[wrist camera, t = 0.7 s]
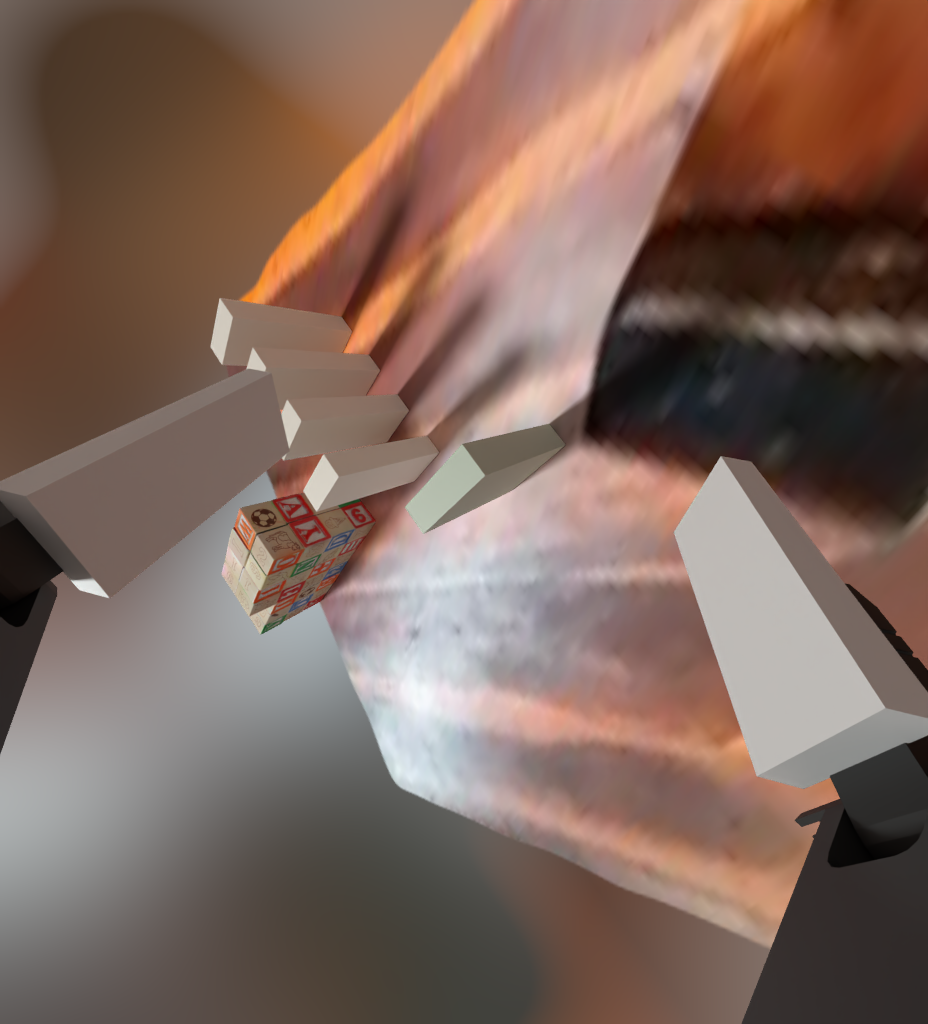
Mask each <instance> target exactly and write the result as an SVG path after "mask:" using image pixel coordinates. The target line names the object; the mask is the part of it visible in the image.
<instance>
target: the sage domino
mask: <svg viewBox="0 0 928 1024" xmlns="http://www.w3.org/2000/svg"><path fill="white" fill-rule="evenodd" d="M564 446H565V443H564V442H563V441H562V440H561V438H560V437H559V436H558V435H557V433H556V432H555V431H554V429H553V428H552V427H551V426H550V424H546V425H542V426H537V427H533V428H529V429H525V430H520V431H516V432H512V433H508V434H503V435H499V436H495V437H490V438H486V439H482V440H478V441H473V442H469V443H465V444H462V445H461V446H460V447H459V448H458V449H457V450H456V451H455V453H454V454H453V455H452V456H451V457H450V458H449V459H448V460H447V461H446V462H445V464H444V465H443V466H442V467H441V468H440V469H439V470H438V471H437V472H436V473H435V475H434V476H433V477H432V478H431V479H430V480H429V481H428V482H427V483H426V484H425V486H424V487H423V488H422V489H421V490H420V491H419V492H418V493H417V494H416V495H415V497H414V498H413V499H412V500H411V501H410V502H409V503H408V504H407V505H406V506H405V508H406V510H407V511H408V512H409V514H410V515H411V517H412V518H413V520H414V521H415V523H416V524H417V526H418V527H419V529H420V530H421V531H422V533H423V534H424V533H427V532H429V531H431V530H433V529H435V528H437V527H439V526H441V525H443V524H445V523H447V522H449V521H451V520H453V519H455V518H457V517H459V516H461V515H463V514H465V513H467V512H469V511H471V510H474V509H476V508H478V507H480V506H482V505H484V504H486V503H488V502H490V501H492V500H494V499H496V498H498V497H500V496H502V495H504V494H506V493H508V492H510V491H512V490H513V489H514V488H515V487H517V486H518V485H519V484H520V483H521V482H523V481H524V480H525V479H526V478H527V477H528V476H530V475H531V474H532V473H533V472H534V471H536V470H537V469H538V468H539V467H540V466H542V465H543V464H544V463H545V462H546V461H547V460H549V459H550V458H551V457H552V456H553V455H555V454H556V453H557V452H558V451H559V450H561V449H562V448H563V447H564Z"/></svg>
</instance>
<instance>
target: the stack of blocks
mask: <svg viewBox="0 0 928 1024" xmlns="http://www.w3.org/2000/svg"><path fill="white" fill-rule="evenodd" d="M375 522H376V521H375V519H374V518H373V517H372V515H371V514H370V513H369V511H368V510H367V509H366V507H365V506H364V505H363V503H362V502H361V501H360V500H359V499H356V500H353V501H350V502H347V503H343V504H340V505H337V506H334V507H331V508H328V509H324V510H321V511H318V512H316V510H315V509H314V507H313V506H312V504H311V502H310V501H309V499H308V498H307V496H306V495H305V493H301V494H294V495H290V496H286V497H282V498H278V499H274V500H272V501H268V502H263V503H259V504H255V505H250V506H246V507H242V508H240V509H239V512H238V516H237V519H236V523H235V527H234V528H233V529H232V532H231V535H230V539H229V543H228V549H227V553H226V557H225V562H224V566H223V570H222V576H223V577H224V579H225V580H226V582H227V583H228V585H229V586H230V588H231V589H232V591H233V592H234V594H235V596H236V597H237V599H238V600H239V602H240V603H241V605H242V606H243V608H244V610H245V611H246V613H247V615H248V616H249V617H250V618H251V620H252V622H253V623H254V625H255V626H256V628H257V630H258V631H259V633H260V634H263V633H265V632H267V631H268V630H270V629H272V628H274V627H276V626H278V625H280V624H281V623H282V622H283V621H285V620H287V619H289V618H291V617H293V616H295V615H297V614H298V613H300V612H302V611H303V610H305V609H307V608H309V607H311V606H313V605H315V604H317V603H318V602H320V601H321V600H322V598H323V597H324V595H325V594H326V593H327V592H328V590H329V589H330V587H331V586H332V584H333V583H334V582H335V580H336V579H337V577H338V576H339V574H340V572H341V571H342V569H343V568H344V566H345V565H346V563H347V562H348V560H349V559H350V557H351V556H352V554H353V553H354V551H355V550H356V549H357V548H358V546H359V545H360V544H361V542H362V541H363V539H364V538H365V536H366V535H367V534H368V532H369V531H370V530H371V528H372V527H373V525H374V524H375Z"/></svg>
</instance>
